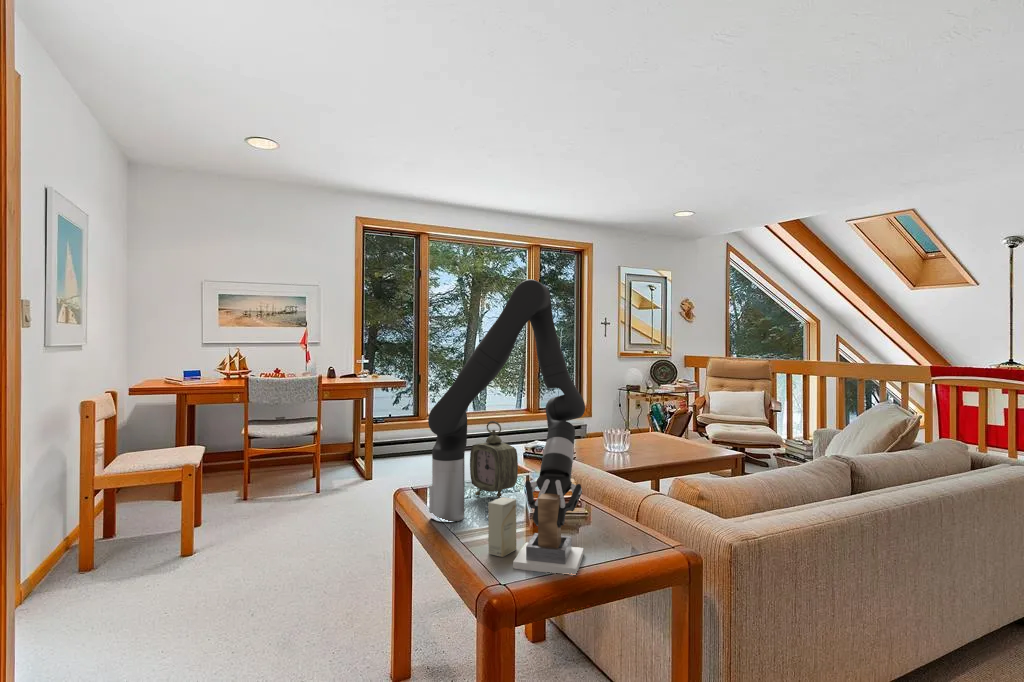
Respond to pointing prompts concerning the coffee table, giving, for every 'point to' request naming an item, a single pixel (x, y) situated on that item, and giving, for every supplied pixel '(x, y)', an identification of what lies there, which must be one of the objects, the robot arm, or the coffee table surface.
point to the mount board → (549, 557)
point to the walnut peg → (548, 520)
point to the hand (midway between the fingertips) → (548, 524)
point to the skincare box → (502, 526)
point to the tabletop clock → (493, 464)
